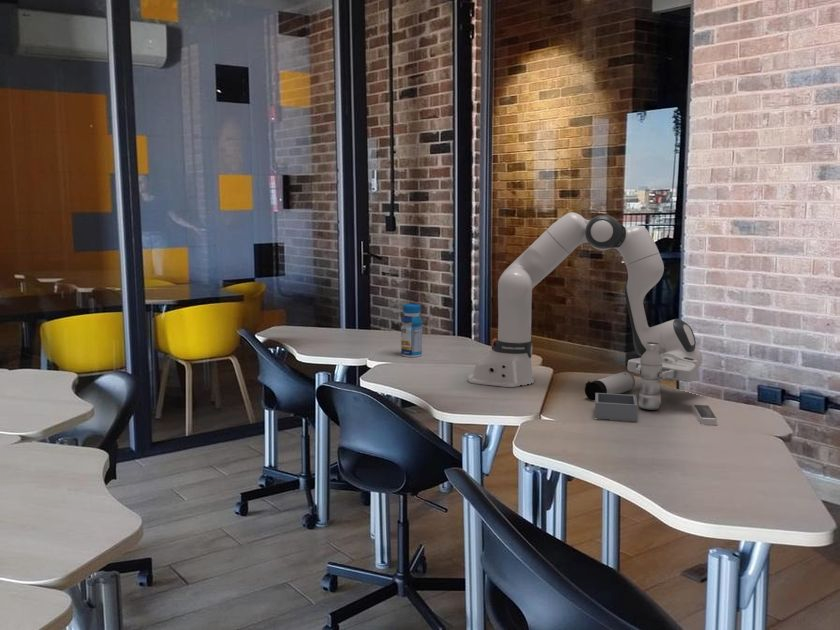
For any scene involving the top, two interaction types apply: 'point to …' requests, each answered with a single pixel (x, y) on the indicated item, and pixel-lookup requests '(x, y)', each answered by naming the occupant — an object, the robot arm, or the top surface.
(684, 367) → the robot arm
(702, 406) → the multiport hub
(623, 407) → the gray open square bin
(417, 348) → the beverage bottle
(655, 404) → the plastic bottle
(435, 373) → the top surface
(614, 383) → the travel mug
